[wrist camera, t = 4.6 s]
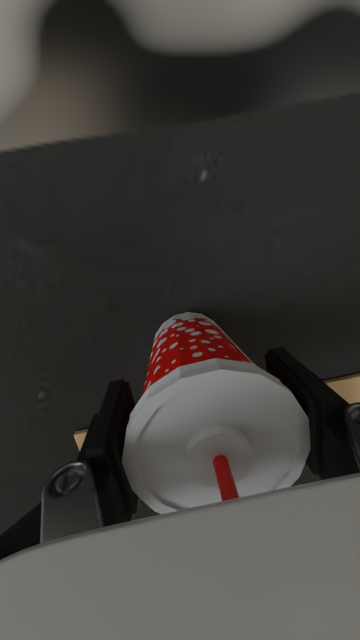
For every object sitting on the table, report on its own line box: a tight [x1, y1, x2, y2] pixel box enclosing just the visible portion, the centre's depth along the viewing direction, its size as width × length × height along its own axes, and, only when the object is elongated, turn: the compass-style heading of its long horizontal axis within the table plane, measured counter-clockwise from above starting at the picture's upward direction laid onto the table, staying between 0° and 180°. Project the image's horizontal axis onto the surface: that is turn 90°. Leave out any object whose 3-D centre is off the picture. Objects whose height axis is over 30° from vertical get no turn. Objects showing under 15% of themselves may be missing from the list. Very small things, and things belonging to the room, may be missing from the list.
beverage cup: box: [122, 312, 310, 514], centre depth 10 cm, size 6×6×14 cm
